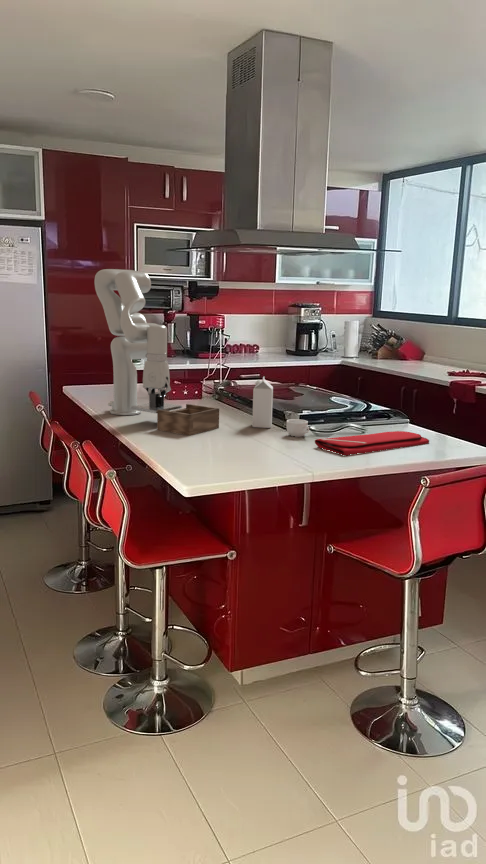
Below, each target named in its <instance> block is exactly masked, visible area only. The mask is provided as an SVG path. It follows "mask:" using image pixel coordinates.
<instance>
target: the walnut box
mask: <svg viewBox="0 0 486 864" xmlns="http://www.w3.org/2000/svg"><path fill="white" fill-rule="evenodd" d="M156 414H157V417H156V419H157V422H156V423H157V424H156V425H157V426H156V427H157V428H156V429H157V430H156V431H162V432H168V433H173V434H177V435H178V434H179V435H185V436H193V435H196V434H201V433H205V432H210V431H213V430H216V429H217V430H218V429H219V428H220V408H218V407H212V406H205V405H204V406H203V405H198V404H191V403H190V404H189V403H186V404H185V408H180V409H175V410H170V411H166V410H157V413H156Z"/></svg>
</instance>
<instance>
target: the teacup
mask: <svg viewBox="0 0 486 864" xmlns="http://www.w3.org/2000/svg"><path fill="white" fill-rule="evenodd" d="M308 424H309V421H308V420H305V419H300V418H298V419H297V418H296V419H295V418H291V419H287V420H286V432H287V434H288V435H289V436H290V435H291V437H293V436H295V437H294V438H302V437H304V436H305V435H306V434H308V433H309V431H310V427H309V426H308Z"/></svg>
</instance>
